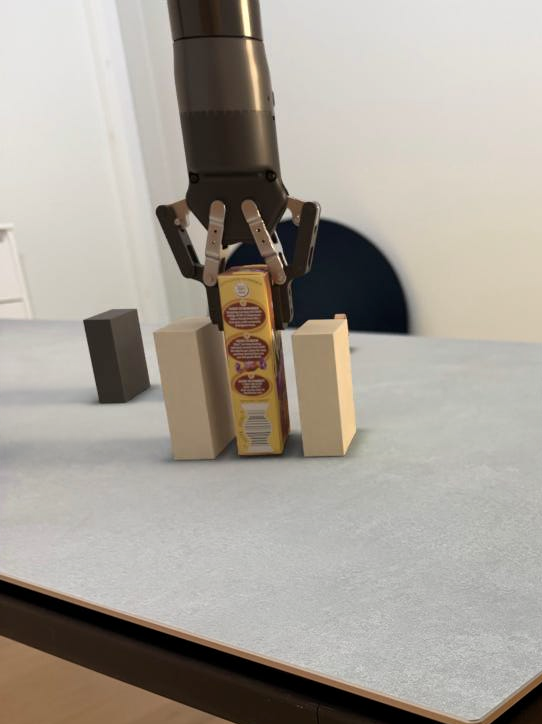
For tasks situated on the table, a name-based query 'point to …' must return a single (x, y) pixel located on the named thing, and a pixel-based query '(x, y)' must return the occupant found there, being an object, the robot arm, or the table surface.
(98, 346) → the grey rectangular blocks
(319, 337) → the beige blocks
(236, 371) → the candy box
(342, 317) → the perforated watch strap
